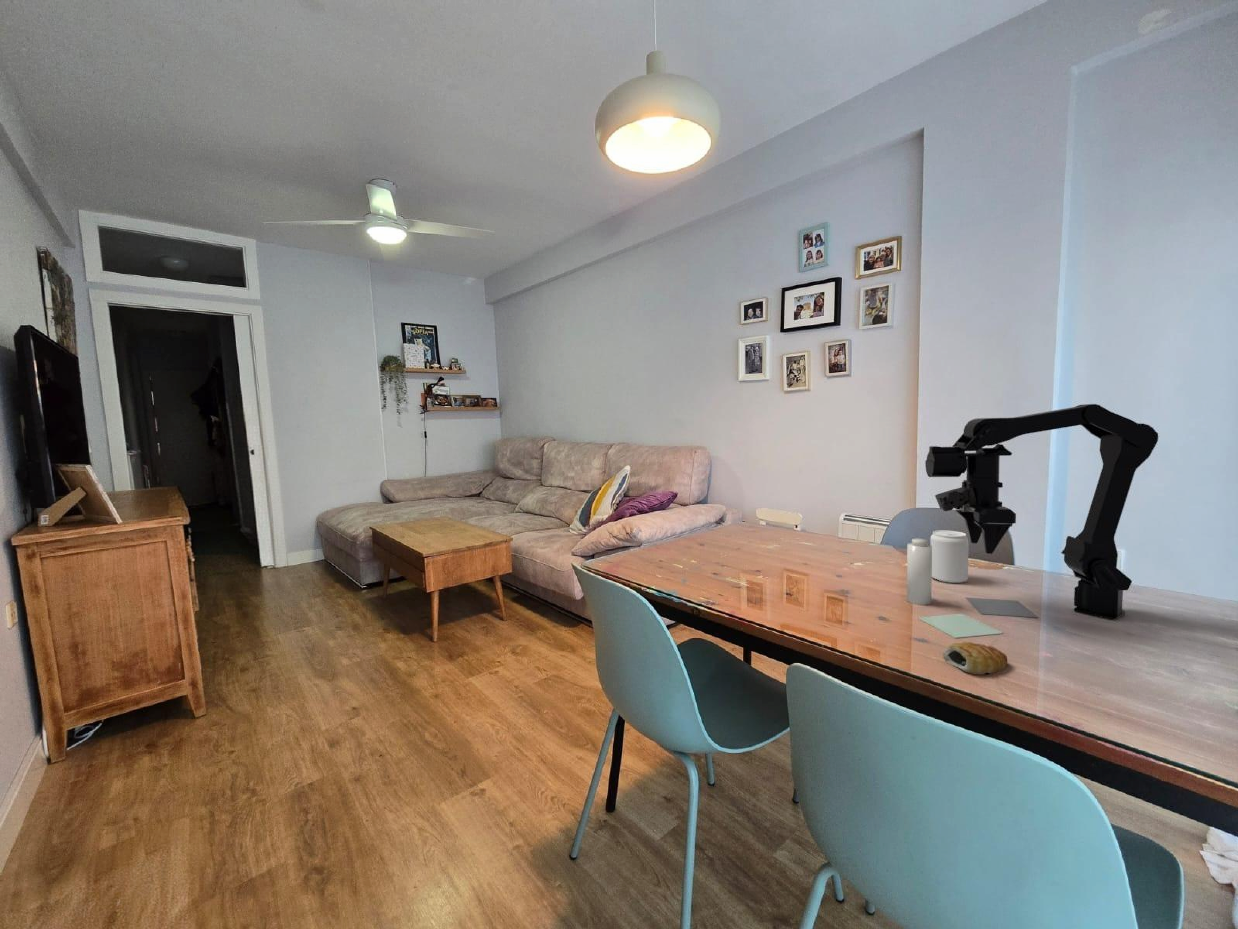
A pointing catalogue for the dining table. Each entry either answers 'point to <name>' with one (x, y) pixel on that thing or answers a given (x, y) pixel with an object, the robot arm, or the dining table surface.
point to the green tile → (959, 626)
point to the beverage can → (949, 556)
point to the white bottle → (919, 572)
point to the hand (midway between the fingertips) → (981, 548)
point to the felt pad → (1001, 607)
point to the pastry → (975, 658)
